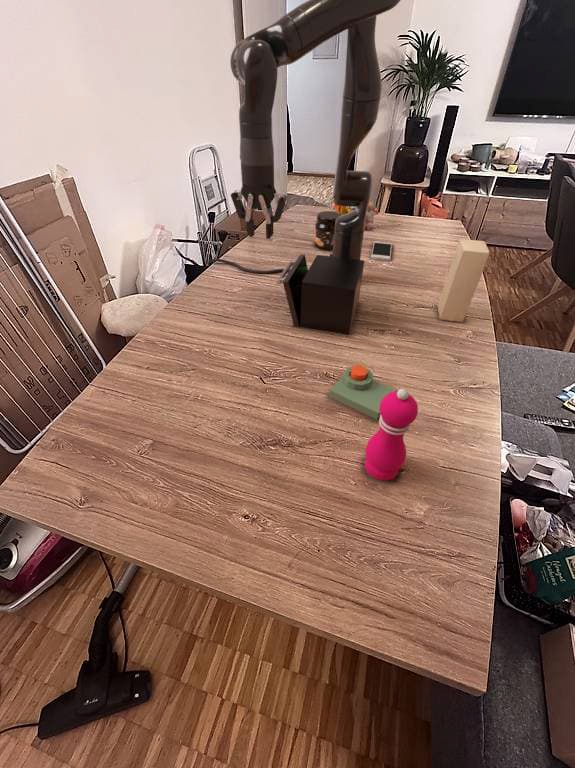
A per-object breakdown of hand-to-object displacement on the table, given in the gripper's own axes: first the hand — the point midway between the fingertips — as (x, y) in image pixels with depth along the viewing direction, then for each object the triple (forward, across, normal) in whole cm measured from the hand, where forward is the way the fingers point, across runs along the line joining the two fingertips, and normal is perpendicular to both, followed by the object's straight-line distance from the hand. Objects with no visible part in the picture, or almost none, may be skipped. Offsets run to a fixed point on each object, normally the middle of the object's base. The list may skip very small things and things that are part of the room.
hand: (260, 236), depth 96 cm
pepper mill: (+23, -39, +45) cm, 64 cm away
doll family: (+23, -14, -79) cm, 84 cm away
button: (+20, -31, +24) cm, 44 cm away
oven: (+23, -19, -6) cm, 31 cm away
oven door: (+23, -10, -6) cm, 26 cm away
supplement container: (+23, -8, -57) cm, 62 cm away
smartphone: (+23, -29, -57) cm, 69 cm away
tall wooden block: (+23, -54, -17) cm, 61 cm away
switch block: (+23, -33, +27) cm, 48 cm away
